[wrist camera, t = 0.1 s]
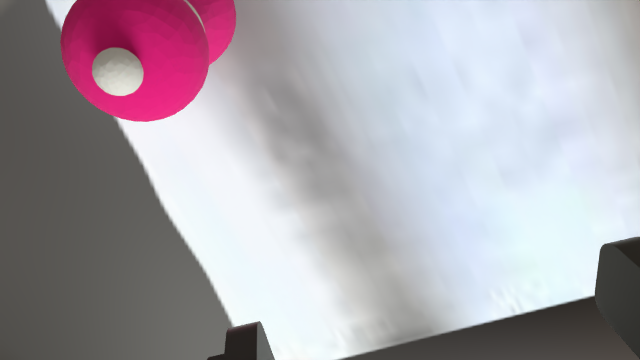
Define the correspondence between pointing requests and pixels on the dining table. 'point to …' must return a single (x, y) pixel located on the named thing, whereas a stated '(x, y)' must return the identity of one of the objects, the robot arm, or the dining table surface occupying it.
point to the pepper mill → (144, 52)
